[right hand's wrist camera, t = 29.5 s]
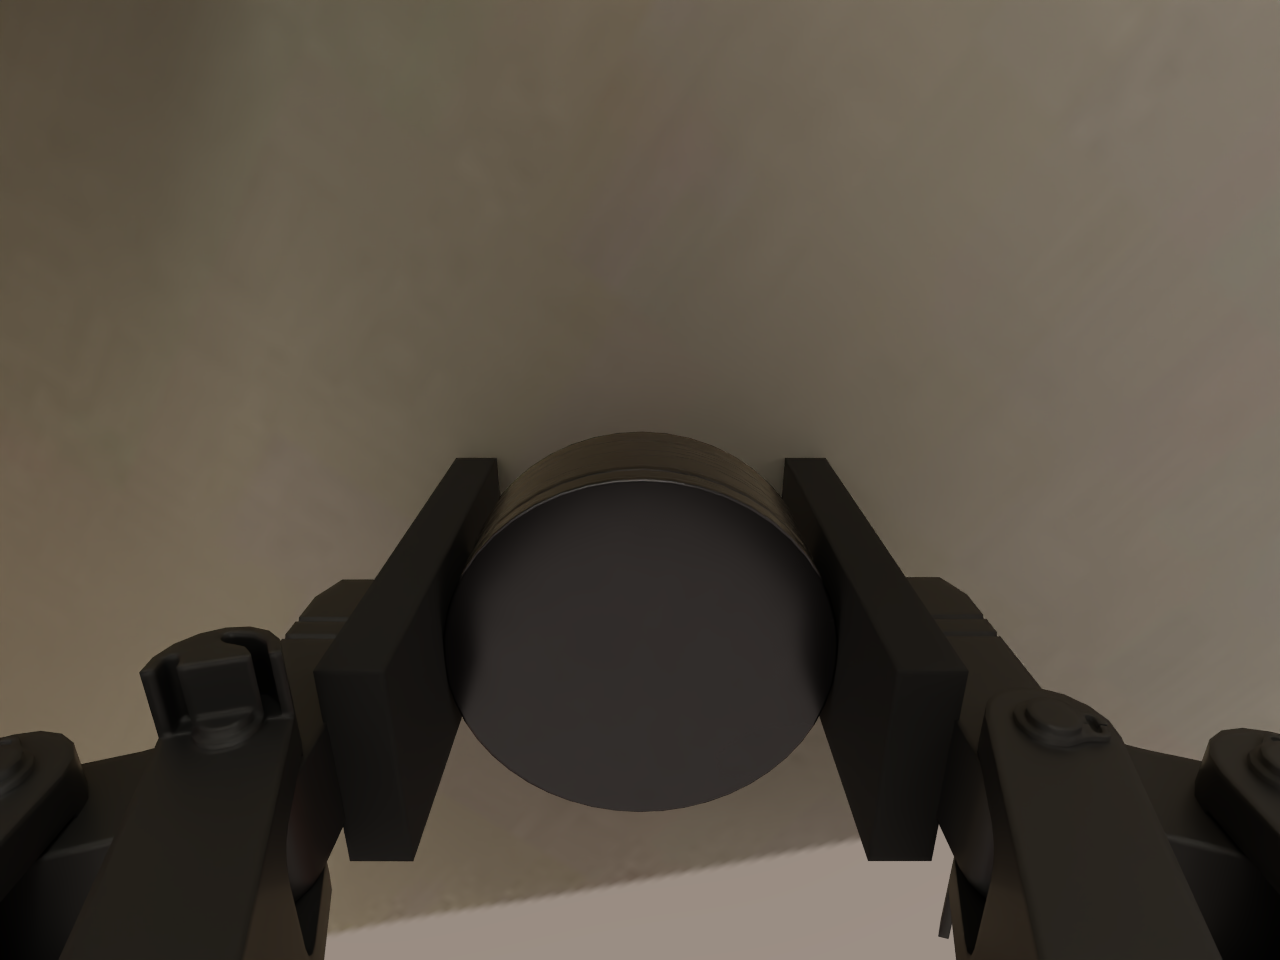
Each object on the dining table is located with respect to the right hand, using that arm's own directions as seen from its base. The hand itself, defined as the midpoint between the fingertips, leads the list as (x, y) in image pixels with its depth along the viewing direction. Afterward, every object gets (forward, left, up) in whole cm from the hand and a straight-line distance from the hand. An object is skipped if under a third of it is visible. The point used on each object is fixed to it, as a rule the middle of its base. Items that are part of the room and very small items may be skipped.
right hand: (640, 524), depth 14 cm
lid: (0, 0, +4) cm, 4 cm away
